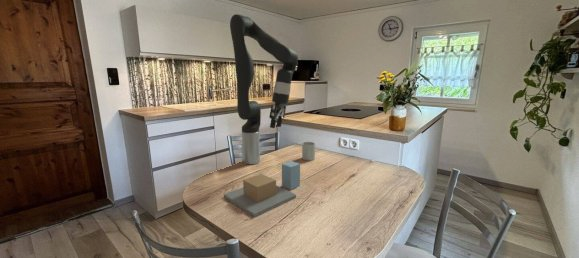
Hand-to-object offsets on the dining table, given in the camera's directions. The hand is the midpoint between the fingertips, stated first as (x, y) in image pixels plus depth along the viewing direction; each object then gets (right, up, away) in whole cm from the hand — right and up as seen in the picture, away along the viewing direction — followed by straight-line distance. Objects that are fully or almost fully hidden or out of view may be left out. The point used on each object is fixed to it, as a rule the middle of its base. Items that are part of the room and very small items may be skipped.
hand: (275, 127), depth 118 cm
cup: (+18, -18, +27) cm, 37 cm away
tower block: (+7, -25, -9) cm, 28 cm away
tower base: (-5, -28, -19) cm, 34 cm away
